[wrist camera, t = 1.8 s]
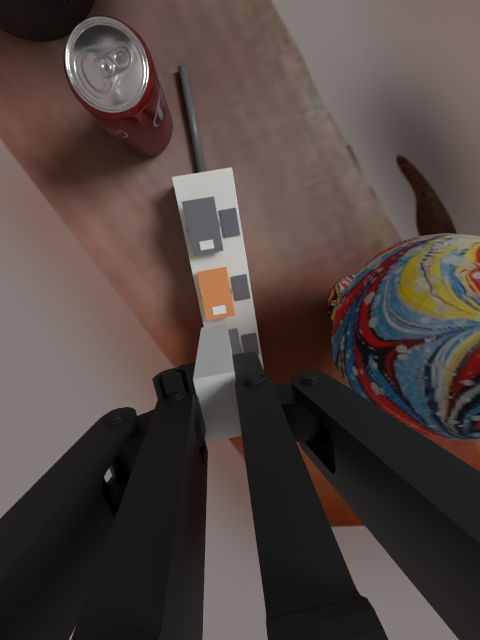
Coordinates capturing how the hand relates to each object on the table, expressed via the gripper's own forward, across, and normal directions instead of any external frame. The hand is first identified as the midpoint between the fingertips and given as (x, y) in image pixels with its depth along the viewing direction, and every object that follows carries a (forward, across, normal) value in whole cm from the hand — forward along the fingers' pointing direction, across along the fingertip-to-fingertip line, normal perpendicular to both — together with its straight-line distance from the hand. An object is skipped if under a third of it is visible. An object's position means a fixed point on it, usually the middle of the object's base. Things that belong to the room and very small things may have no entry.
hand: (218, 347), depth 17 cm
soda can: (+25, -5, +21) cm, 33 cm away
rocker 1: (+19, 0, +8) cm, 21 cm away
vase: (+25, +20, -6) cm, 32 cm away
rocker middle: (+19, 0, 0) cm, 19 cm away
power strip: (+24, +1, +6) cm, 25 cm away
